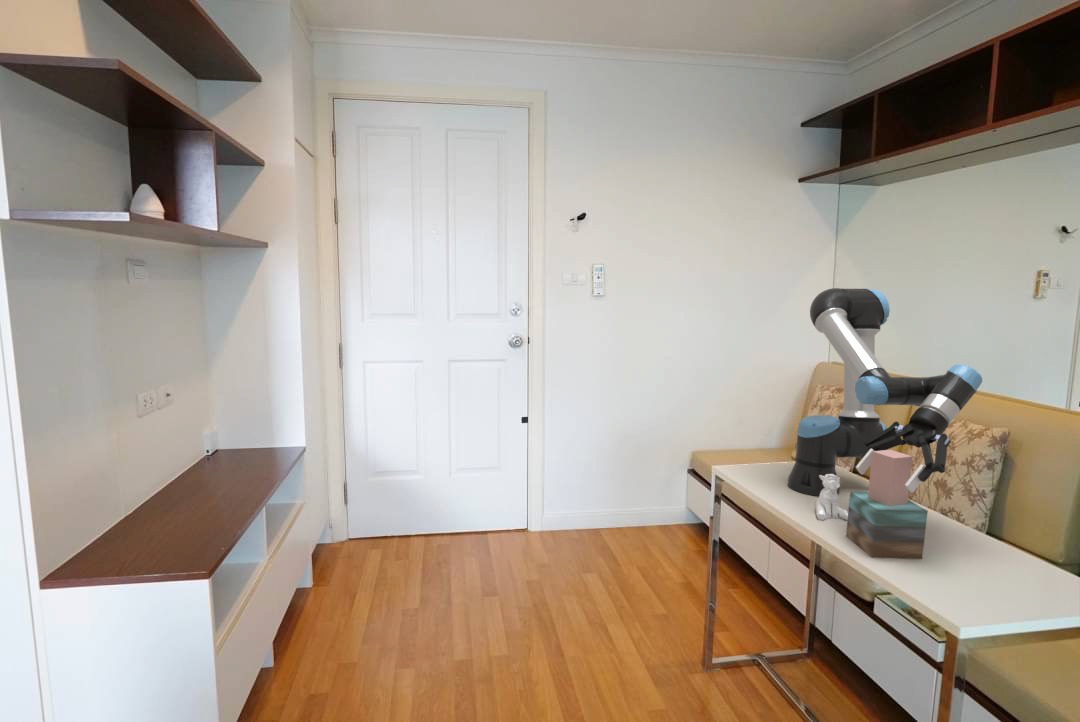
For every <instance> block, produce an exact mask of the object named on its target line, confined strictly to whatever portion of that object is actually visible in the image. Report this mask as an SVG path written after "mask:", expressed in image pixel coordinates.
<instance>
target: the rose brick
mask: <svg viewBox="0 0 1080 722" xmlns="http://www.w3.org/2000/svg"><path fill="white" fill-rule="evenodd" d="M912 464H913V456H912V455H909V454H906V453H902V452H899V451H895V450H894V449H887V450H881V451H872V461H871V465H870V472H869V482H868V491H867V492H868V498H870V499H872V500H875V501H877V502H879V503H882V504H884V505H887V506H896V505H904V504H907V503H908V500H909V492H910V491H909V490H908V489H907V487H906V486H905V484H906V483H907V481H908V480H909V479H910V478H911V476H912V467H913V466H912Z"/></svg>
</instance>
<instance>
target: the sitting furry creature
mask: <svg viewBox="0 0 1080 722" xmlns="http://www.w3.org/2000/svg"><path fill="white" fill-rule="evenodd" d="M819 477H820V479H821V480H822V481H823V482H822V484H823V486H824V487H825V488H823V490H821V493H820V496H818V498H817V499H816V502H815V510H816V511H815V512H816V516H817V519H818V520H820V521H823V520H825V519H839V518H842V520H844V519H845V520H844V521H848V510H847V509H844V508H841V507H840V505H839V504H838V500H839V497H838V496H839V494H837V489H838V488H839V487H840V488H841V484H840V481H841V480H840V479H841V477H840V476H839V477H838V475H837V476H836V475H834V474H826V475H825V476H822V475H819Z"/></svg>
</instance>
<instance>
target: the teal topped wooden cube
mask: <svg viewBox="0 0 1080 722" xmlns="http://www.w3.org/2000/svg"><path fill="white" fill-rule="evenodd" d="M847 512H848V521H847V520H846V521H847V523H846V530H845V536H846V537H847V538H848V539H849V540H850V539H851V541H852V543H853V544H855V545H857V546H858V547H859V548H860V549H861V548H862V549H863V550H862V549H861V550H862V551H864V552H865V553H866V554H867V555H868V556H869V557H871V558H880V559H881V558H883V559H884V558H885V559H912V560H913V559H920V560H922V559H923V553H924V547H925V538H926V528H927V519H928V509H925V508H924V507H922V506H920V505H918V504H917V503H915V502H913V501H912V500H910V499H908V503H907V504H904V505H896V506H887V505H884V504H882V503H879V502H877V501H875V500H872V499H870V498H868V491H850V493H849V503H848V510H847Z"/></svg>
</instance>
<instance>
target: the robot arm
mask: <svg viewBox="0 0 1080 722" xmlns="http://www.w3.org/2000/svg"><path fill="white" fill-rule="evenodd" d="M890 312H891V311H890V304H889V300H888V299H887V297H886V295H884V294H883V292H881V291H880V290H878V289H870V288H840V287H836V288H834V287H833V288H828V289H825V290H823V291H821V292H820V293H818V294H817V295H816V296H815V298H814V299H813V300H812V303H811V305H810V308H809V316H810V317H809V318H810V320H811V323H812V325H813V326H814V327H815V329H816V330H817V332H819V333H821V334H823V335H824V336H825V337H826V339H827V340H828V341H829V343H830V345H831V346H832V347H833V349H834V351H836V353H837V354H838V356H839V357H840V358H841V360H842V362H843V410H842V411H840V413H838V417H836V416H832V415H822V414H817V415H815V414H813V415H809V416H805V417H802V418H801V419H800V420H799V422H798V425H797V426H798V427H797V438H796V450H795V451H796V452H795V463H794V465H793V467H792V469H791V470H790V473H789V475H788V478H787V486H788V487H789V488H790V489H792V490H793V491H795V492H799V493H801V494H805V495H809V496H814V497H815V496H816V497H819V496H820V493H821V490H823V488H825V487H824V486H823V484H822V482H823V481H822V480H821V479H820V477H819V475H822V476H825V475H826V474H834V475H836V476H837V477H838V475H837V470H836V466H837V465H836V463H837V458H860V459H861V460H860V461H859V462H858V463H857V465H856V466H855V468H856V470H857V472H858V473H859V474H860V475H862V476H863V475H864V474H865V473H866V472H867V471H868V469H869V468H871V461H872V451H881V450H891V449H893V448H895V447H898V446H905V445H908V446H914V447H915V448H918V449H920V448H921V452H922V455H923V460H924V464H922V463H921V464H920V465H919V466H918V467H917V469H916V470H915V471H914V473H913V474H911V476H910V479H909V480H908V481H907V483H906V484H905V486H906V487H907V489H908V490H909V492H910V494H911V493H912V494H913V493H914V492H915V491H916V490H917V489H918V487H919V486H920V484H922V482H924V483H925V482H926V481H927V480H928V479H929V477H930V476H931V475H932V474H933V473H936V472H939V473H940V474H943V473H945V472H946V464H947V463H946V462H947V454H948V452H947V451H948V447H949V446H950V443H951V439H950V438H949V437H948V435H947V433H944V432H946V430H947V428H948V427H949V425H951V423H952V422H953V420H955V418H956V417H957V415H958V414H959V413H960V411H961V410H962V409H963V408H964V407H965V406H966V405H967V404H968V402H969V401H970V400H971V399H972V397H973V396H974V395H975V394H977V390H978V389H979V388H980V387H981V384H982V383H983V377H982V375H981V373H979V372H978V370H976V369H975V368H973V367H971V366H970V365H967V364H961V363H960V364H959V363H956V364H954V365H953V366H951V367H950V368H949V369H948V370H947V371H946V373H945V374H941V375H936V376H934V375H933V376H923V377H922V376H921V377H920V376H918V377H915V376H913V377H911V376H910V377H909V376H907V377H906V376H904V377H903V376H902V377H901V376H891V375H890V374H889V373H888V371H886V369H885V368H884V366H883V365H882V364H881V363H880V361H879V359H877V357H876V356H875V355H876V353H875V344H876V343H875V342H876V341H875V340H876V339H875V338H876V335H877V334H878V333H879V332H881V326H883V325H884V324H885V323H886V322H887V321H888V318H889V317H890ZM875 406H913V407H914V406H915V407H918V408H917V409H916V410H915V411H914V413H913V414H912V415H911V416H910V417H909V420H908V423H907V424H906V425H902V424H900V423H899V421H894V422H893V423H892V424H890V426H889V427H887V426H886V425H885V423H883V422H882V421H880V420H881V418H880V415H879V414H878V413H877V412H876V411H875ZM935 442H936V448H935V450H936V451H935V458H933V455H932V448H931V444H933V443H935ZM934 459H935V460H934ZM840 489H841V486H840V487H839V488H838V489H837V495H839V494H840Z"/></svg>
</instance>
